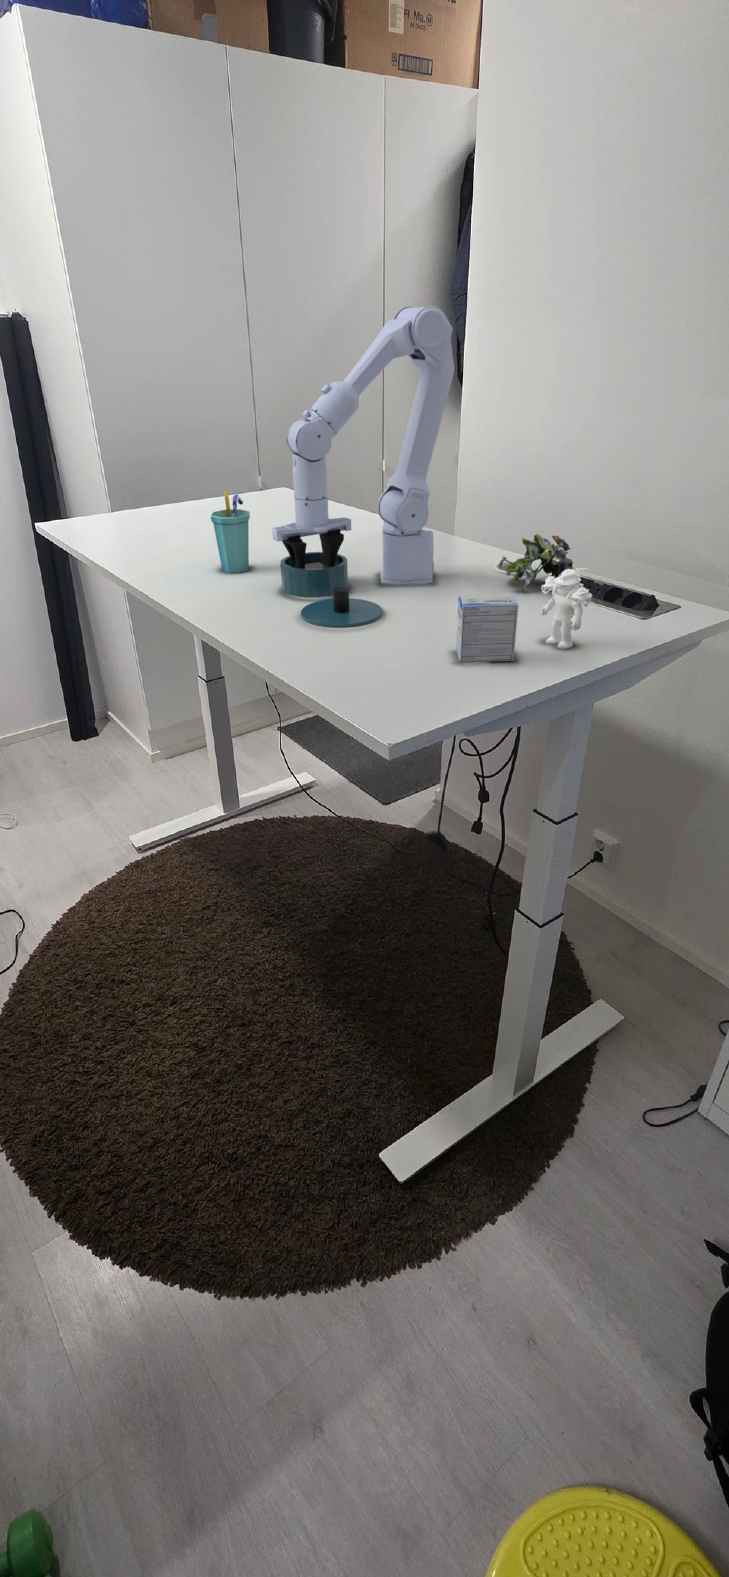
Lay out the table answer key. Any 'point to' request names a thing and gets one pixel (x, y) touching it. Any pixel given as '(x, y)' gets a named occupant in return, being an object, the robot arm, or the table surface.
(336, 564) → the pot
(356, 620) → the lid
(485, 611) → the medicine box
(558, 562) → the passion flower
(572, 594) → the hat wearing toy figure
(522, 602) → the table surface
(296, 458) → the robot arm
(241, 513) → the cup
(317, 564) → the block
